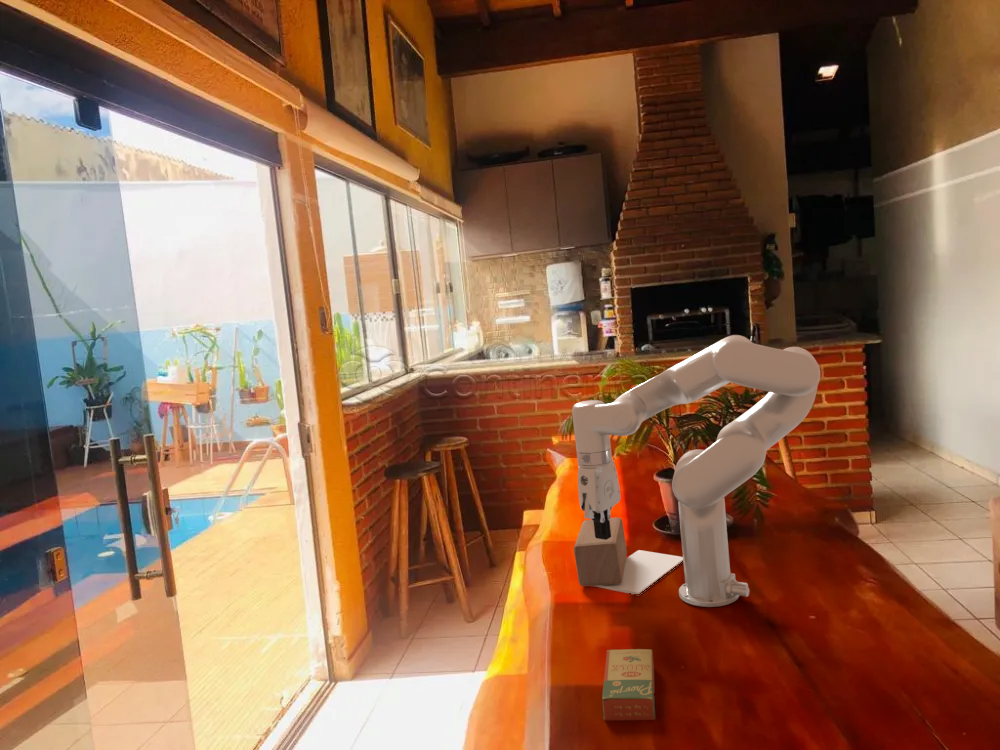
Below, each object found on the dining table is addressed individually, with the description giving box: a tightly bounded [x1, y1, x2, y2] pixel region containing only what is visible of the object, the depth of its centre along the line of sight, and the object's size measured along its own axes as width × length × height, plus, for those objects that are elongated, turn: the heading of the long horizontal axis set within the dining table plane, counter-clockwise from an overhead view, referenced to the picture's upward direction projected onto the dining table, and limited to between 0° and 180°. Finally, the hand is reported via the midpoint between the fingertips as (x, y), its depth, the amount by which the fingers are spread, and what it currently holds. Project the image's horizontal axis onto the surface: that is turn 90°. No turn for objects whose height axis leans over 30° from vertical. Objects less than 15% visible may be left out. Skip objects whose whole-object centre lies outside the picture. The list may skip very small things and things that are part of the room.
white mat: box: [594, 549, 683, 595], centre depth 179 cm, size 13×22×1 cm, turn 139°
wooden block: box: [573, 516, 628, 587], centre depth 181 cm, size 10×10×20 cm
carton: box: [601, 648, 656, 721], centre depth 129 cm, size 8×16×4 cm, turn 169°
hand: (603, 537), depth 168 cm, fingers closed
